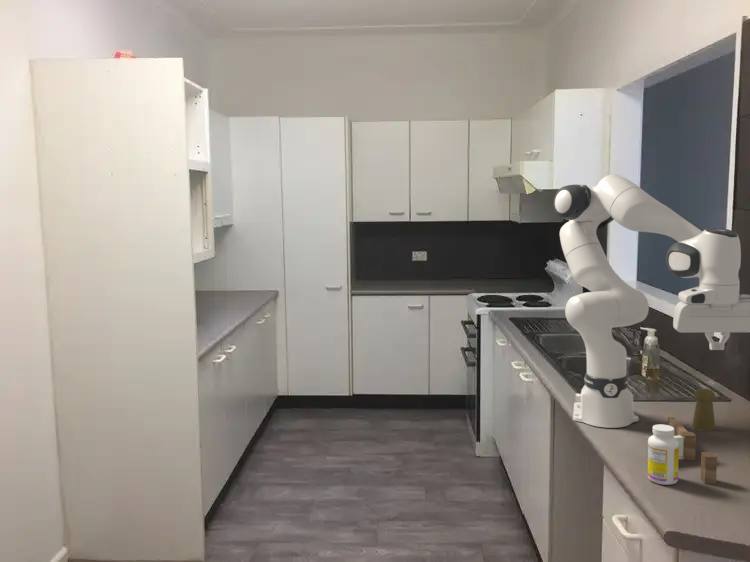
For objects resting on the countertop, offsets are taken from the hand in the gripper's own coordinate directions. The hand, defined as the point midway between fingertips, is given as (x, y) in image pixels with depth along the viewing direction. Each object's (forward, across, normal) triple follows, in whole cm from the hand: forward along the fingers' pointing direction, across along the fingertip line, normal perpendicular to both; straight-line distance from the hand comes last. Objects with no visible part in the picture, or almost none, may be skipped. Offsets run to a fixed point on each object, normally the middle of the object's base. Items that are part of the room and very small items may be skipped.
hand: (716, 349), depth 165 cm
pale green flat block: (+27, +13, +3) cm, 30 cm away
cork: (+28, -5, -22) cm, 36 cm away
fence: (+28, +6, +1) cm, 29 cm away
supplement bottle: (+28, +16, +15) cm, 36 cm away
